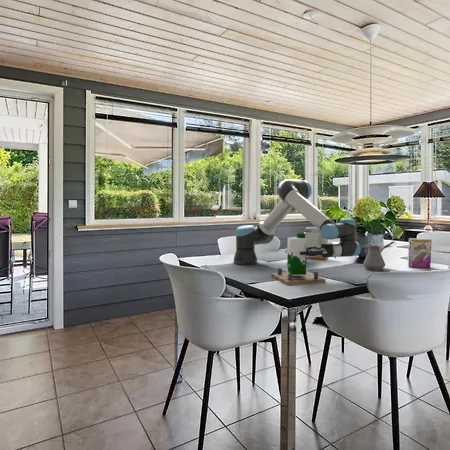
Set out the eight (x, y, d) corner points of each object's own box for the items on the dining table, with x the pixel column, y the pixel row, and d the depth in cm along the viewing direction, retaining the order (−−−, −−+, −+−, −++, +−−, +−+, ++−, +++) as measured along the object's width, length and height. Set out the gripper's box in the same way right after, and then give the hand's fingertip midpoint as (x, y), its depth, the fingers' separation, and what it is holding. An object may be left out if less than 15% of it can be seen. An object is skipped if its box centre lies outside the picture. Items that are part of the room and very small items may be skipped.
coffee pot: (374, 271, 193) (374, 244, 192) (358, 268, 204) (359, 242, 203) (402, 268, 202) (403, 242, 201) (386, 265, 212) (387, 240, 211)
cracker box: (328, 258, 237) (328, 227, 236) (325, 259, 232) (325, 228, 231) (307, 257, 245) (307, 226, 243) (304, 258, 240) (304, 227, 238)
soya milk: (308, 275, 173) (308, 234, 172) (290, 275, 173) (290, 234, 171) (303, 271, 182) (303, 232, 181) (285, 272, 181) (285, 233, 180)
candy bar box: (408, 267, 204) (409, 239, 203) (407, 265, 209) (408, 238, 208) (431, 268, 201) (431, 239, 200) (429, 266, 206) (429, 238, 204)
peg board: (271, 276, 185) (271, 267, 185) (306, 273, 190) (307, 265, 189) (286, 285, 166) (286, 275, 165) (325, 282, 170) (325, 273, 170)
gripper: (341, 260, 170) (298, 263, 165) (320, 254, 191) (280, 256, 186) (342, 245, 170) (298, 247, 165) (320, 240, 191) (280, 241, 186)
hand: (289, 251), depth 176 cm, fingers open, 9 cm apart
